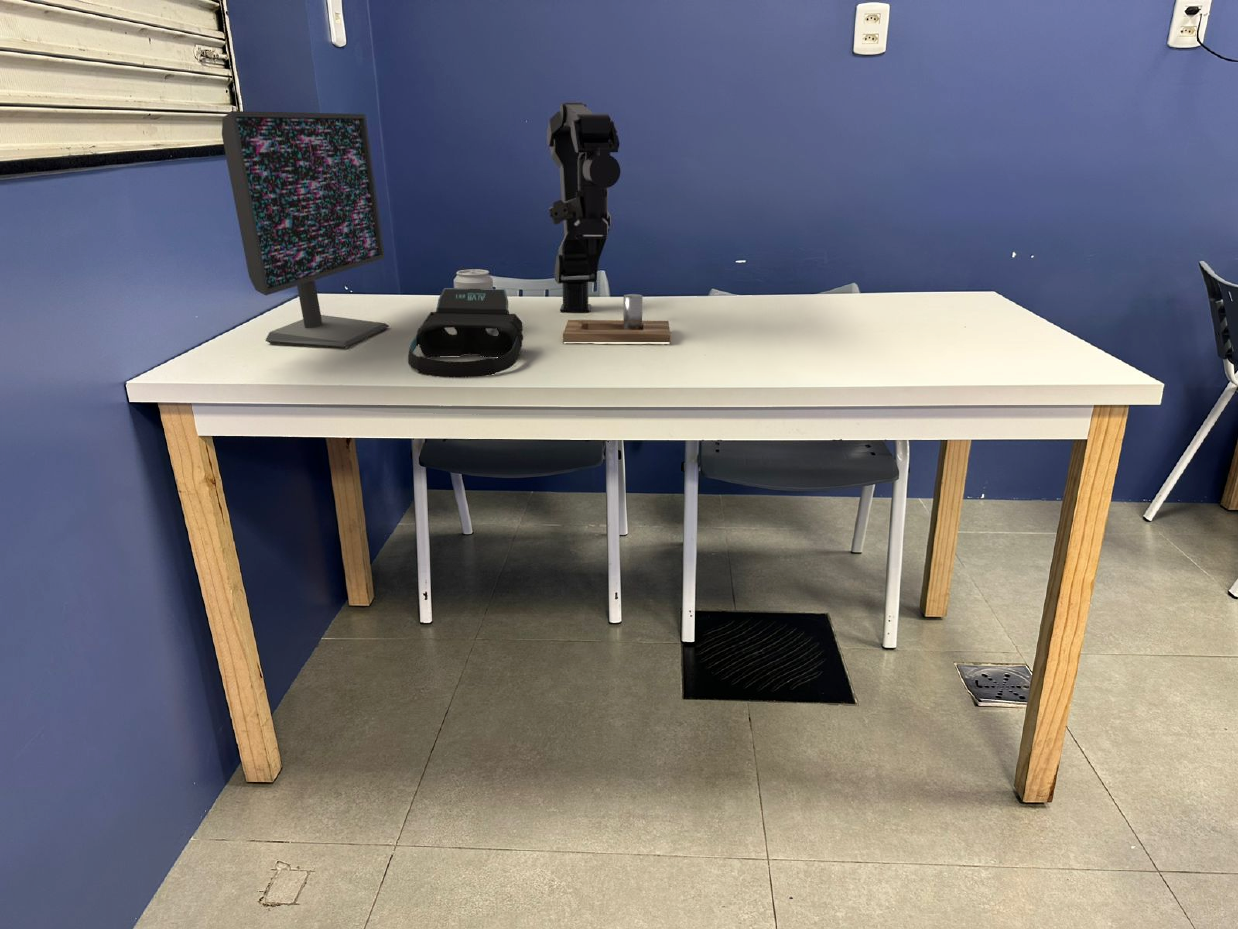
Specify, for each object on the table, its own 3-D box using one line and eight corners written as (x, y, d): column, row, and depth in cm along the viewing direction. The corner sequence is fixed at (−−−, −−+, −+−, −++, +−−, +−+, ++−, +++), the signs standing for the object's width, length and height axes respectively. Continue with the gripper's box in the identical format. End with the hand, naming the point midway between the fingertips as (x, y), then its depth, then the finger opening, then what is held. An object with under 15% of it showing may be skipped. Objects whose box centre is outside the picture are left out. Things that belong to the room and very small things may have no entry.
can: (453, 336, 166) (449, 273, 162) (461, 327, 173) (457, 267, 169) (491, 336, 166) (488, 273, 162) (498, 328, 173) (495, 267, 169)
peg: (623, 335, 168) (623, 294, 165) (642, 335, 168) (642, 294, 165) (623, 339, 164) (623, 297, 162) (641, 339, 164) (642, 297, 161)
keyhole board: (568, 329, 172) (568, 319, 171) (668, 330, 171) (668, 320, 171) (563, 343, 161) (562, 333, 160) (670, 344, 160) (670, 334, 160)
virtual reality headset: (528, 341, 159) (526, 289, 154) (512, 393, 141) (508, 336, 135) (429, 338, 160) (423, 287, 155) (399, 390, 141) (391, 333, 136)
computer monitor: (309, 367, 144) (274, 110, 130) (222, 362, 147) (179, 110, 133) (416, 315, 184) (399, 114, 169) (347, 312, 187) (324, 113, 172)
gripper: (555, 181, 172) (557, 260, 178) (545, 187, 155) (547, 274, 161) (610, 181, 172) (610, 260, 178) (607, 187, 155) (607, 275, 160)
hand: (593, 267), depth 169 cm, fingers open, 9 cm apart
